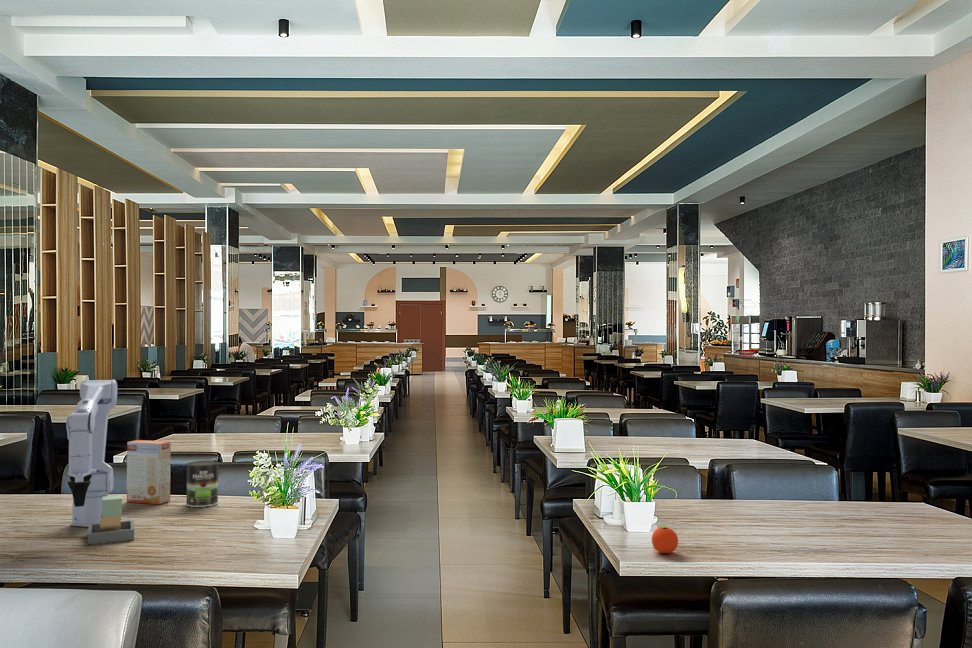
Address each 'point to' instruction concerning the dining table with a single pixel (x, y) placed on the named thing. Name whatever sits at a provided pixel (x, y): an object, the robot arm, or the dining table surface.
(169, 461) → the cracker box
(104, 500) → the light box
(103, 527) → the brown box
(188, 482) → the coffee can
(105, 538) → the tote
